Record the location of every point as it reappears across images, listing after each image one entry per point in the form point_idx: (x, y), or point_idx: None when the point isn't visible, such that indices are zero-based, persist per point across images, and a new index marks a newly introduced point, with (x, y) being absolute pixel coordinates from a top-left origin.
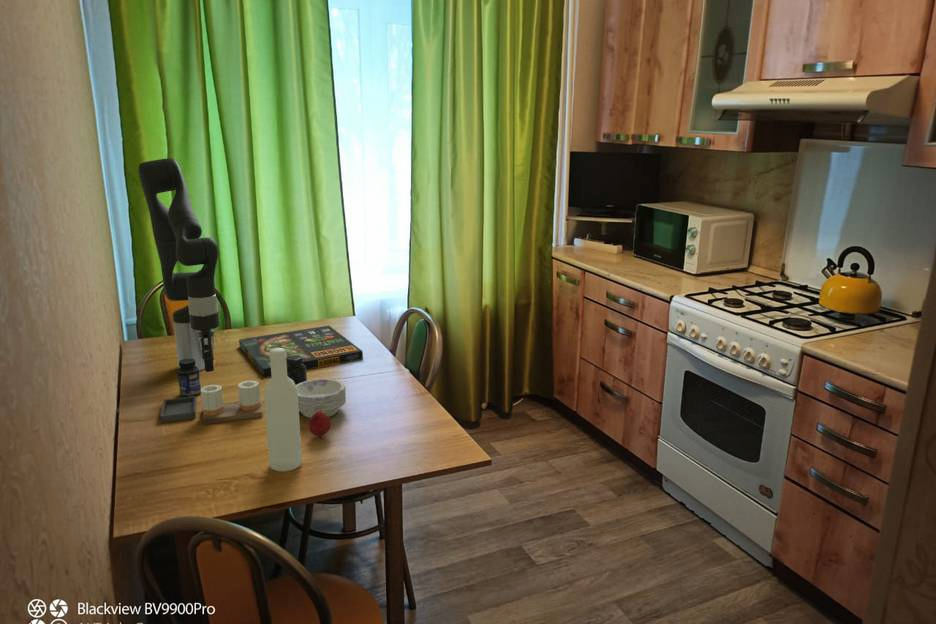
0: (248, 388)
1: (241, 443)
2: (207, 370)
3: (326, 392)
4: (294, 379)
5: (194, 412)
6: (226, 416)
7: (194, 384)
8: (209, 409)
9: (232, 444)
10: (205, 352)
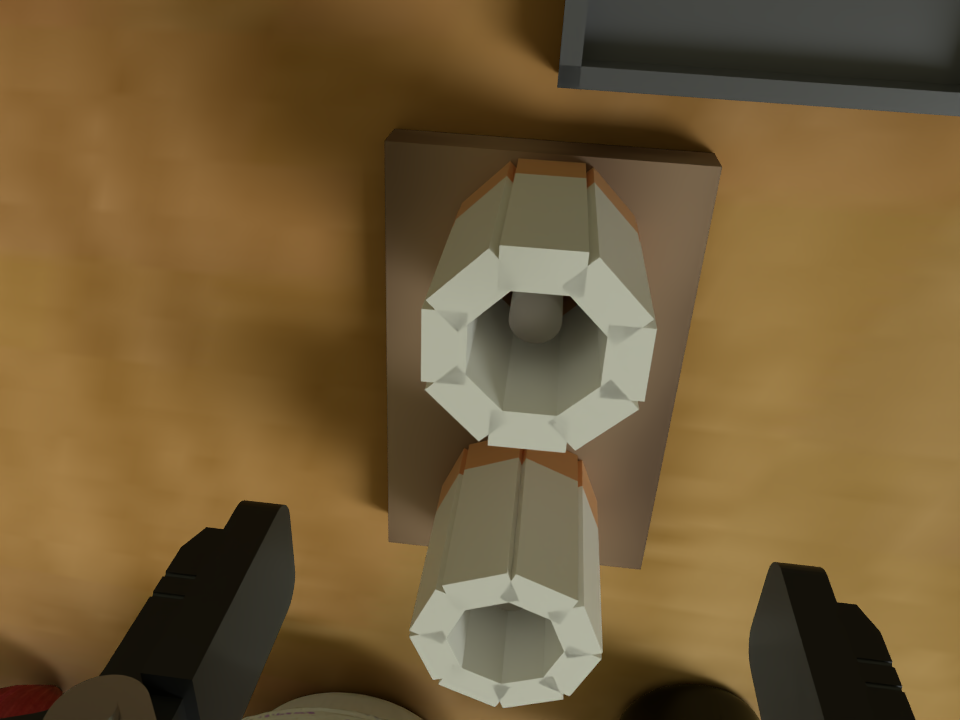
0: (415, 627)
1: (16, 354)
2: (210, 536)
3: None
4: None
5: (558, 82)
6: (391, 329)
7: None
8: (450, 233)
9: (6, 303)
10: (811, 702)
